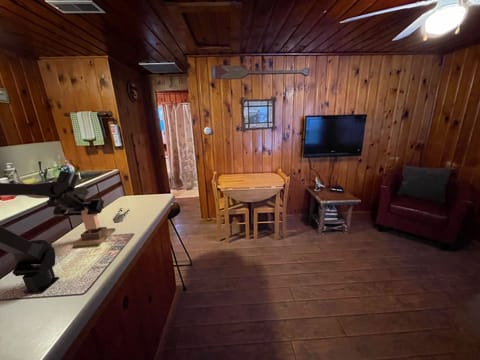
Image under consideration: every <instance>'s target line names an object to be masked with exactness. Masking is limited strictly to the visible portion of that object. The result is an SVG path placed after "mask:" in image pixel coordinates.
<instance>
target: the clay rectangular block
mask: <svg viewBox="0 0 480 360" xmlns="http://www.w3.org/2000/svg"><path fill="white" fill-rule="evenodd" d="M88 202H89V201H88ZM88 202H86V203H88ZM88 205H89V204H88ZM87 213H88V209H87V208H85V210H84V211H81V217H82V222H83V224H84V228H85V231H86V230H88V229H97V228H98V227H101V225H100V221H99V218H98V214H97V215H87Z"/></svg>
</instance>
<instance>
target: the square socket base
mask: <svg viewBox="0 0 480 360" xmlns="http://www.w3.org/2000/svg"><path fill="white" fill-rule="evenodd" d="M114 232H116V228H115V227H112V228H107V226H100V227H98V228H97V229H87V230H86V229H85V231H83V232H82V233H81V234H80V239H79V240H78V241H76V242H75V243H74V244H73V245H72V249H80V248H91V247H92V248H93V247H99V246H101V245H102V244H103V243H104V242H105V241H106V240H107V239H108V238H109V237H110V236H111V235H112V234H113V233H114Z"/></svg>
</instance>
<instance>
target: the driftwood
mask: <svg viewBox="0 0 480 360" xmlns="http://www.w3.org/2000/svg"><path fill="white" fill-rule="evenodd" d="M121 209H123V208H121V207H120V208H119V210H118V211H117V213H116V214H115V216H114V217H112V221H113V223H117V222H118V223H119V222H123V221H124V220H123V219H124V217H126V214H127V213H128V212H129V209H127V210H126V211H124V212H123V211H121V212H120V210H121ZM119 212H120V213H121V214H120V213H119ZM122 212H123V213H122Z"/></svg>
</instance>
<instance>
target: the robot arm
mask: <svg viewBox="0 0 480 360" xmlns="http://www.w3.org/2000/svg"><path fill="white" fill-rule="evenodd" d="M78 181H79V175H78V174H76V173H73V172H68V171H66V170H62V171H61V170H60V171H59V173H58V177H57V178H56V181H43V182H40V181H39V182H33V183H32V182H31V183H11V182H0V197H10V196H11V197H12V196H13V197H14V196H19V197H21V196H25V197H28V198H32V199H48V200H46V207H47V208H53V210H52V211H53V212H52V214H53V215H54V216H56V217H64V216H65V217H74V216H78V217H79V216H81V217H82V215H81V211H84V210H85V208H87V209H88V213H87V215H97V216H98V214H101V213H102V212H103V207H104V203H105V201H104V200H103V199H102V198H92V199H91V200H89V201H88V203H87V202H86V201H87V198H86V197H87V196H88V195H89V193H90V191H89V190H88V189H87V187H86V186H77V187H76V185H77V183H78ZM88 204H89V205H88ZM53 245H54V244H53V243H49V242H48V241H46V240H45V239H34V240H28V239H26V238H25V237H22V236H20V235H18V234H16V233H14V232H12V231H10V230H9V229H7V228H5V227H3V226H1V225H0V250H3V251H5V252H7V253H9V254H12V256H13V259H14V261H15V262H16V264H15V266H14V268H13V270H12V275H13V276H16V277H21V276H22V280H23V282H24V285H25V287H26V288H25V289H24V291H23V294H42V293H43V292H45V291H46V290H47V289H49V288H50V287H51V286H53V284H55V283H56V282H57V281H58V280H59V279H60V277H59V276H56V274H55V271H54V269H53V268H54V266H55V265H56V251H55V247H54V246H53Z"/></svg>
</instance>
